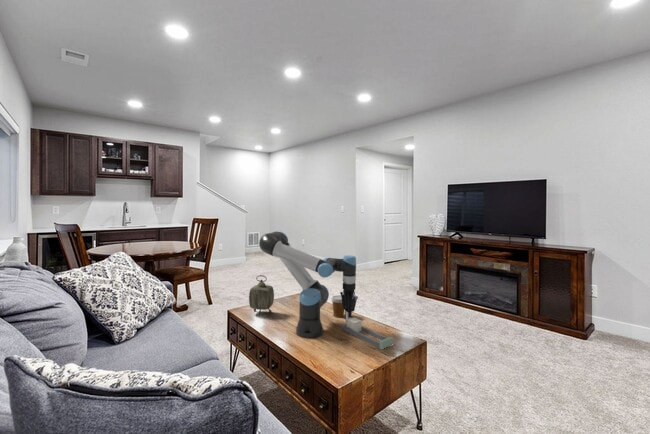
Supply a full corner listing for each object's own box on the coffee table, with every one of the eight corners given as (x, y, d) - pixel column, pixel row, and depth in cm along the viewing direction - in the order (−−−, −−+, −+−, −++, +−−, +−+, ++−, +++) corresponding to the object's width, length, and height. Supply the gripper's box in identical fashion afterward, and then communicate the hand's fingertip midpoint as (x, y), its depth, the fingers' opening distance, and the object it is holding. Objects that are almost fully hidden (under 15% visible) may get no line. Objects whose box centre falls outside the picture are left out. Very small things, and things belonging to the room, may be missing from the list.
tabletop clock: (273, 311, 207) (274, 274, 206) (269, 316, 198) (269, 277, 197) (252, 310, 209) (253, 273, 208) (247, 315, 200) (247, 276, 199)
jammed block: (353, 333, 175) (353, 323, 175) (346, 329, 180) (346, 319, 180) (361, 330, 179) (361, 320, 179) (354, 327, 184) (354, 317, 184)
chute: (381, 349, 157) (382, 342, 157) (341, 329, 181) (342, 322, 181) (393, 345, 163) (393, 337, 162) (352, 325, 187) (353, 319, 186)
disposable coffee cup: (335, 312, 209) (336, 294, 209) (348, 314, 204) (348, 296, 204) (328, 316, 201) (328, 298, 200) (341, 319, 196) (342, 300, 196)
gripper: (361, 283, 179) (360, 324, 181) (346, 279, 190) (345, 317, 191) (352, 285, 175) (351, 327, 176) (337, 280, 185) (336, 320, 186)
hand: (348, 322), depth 183 cm, fingers closed
